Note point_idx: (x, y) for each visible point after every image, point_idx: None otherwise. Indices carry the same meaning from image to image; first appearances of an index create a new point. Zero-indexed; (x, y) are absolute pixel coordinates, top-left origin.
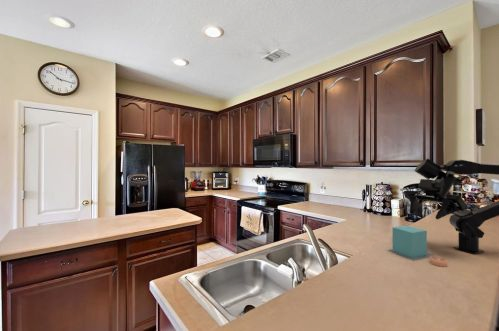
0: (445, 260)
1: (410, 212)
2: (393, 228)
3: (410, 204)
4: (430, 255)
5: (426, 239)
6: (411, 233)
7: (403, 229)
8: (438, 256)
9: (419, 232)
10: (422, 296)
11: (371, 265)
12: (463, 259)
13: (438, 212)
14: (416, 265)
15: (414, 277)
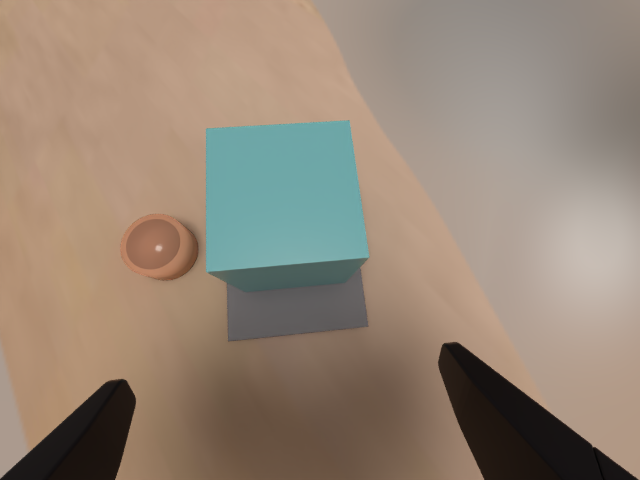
0: (123, 248)
1: (445, 344)
2: (340, 124)
3: (610, 460)
4: (239, 311)
5: (224, 280)
6: (215, 132)
7: (284, 141)
8: (163, 262)
9: (207, 195)
10: (70, 22)
11: (260, 40)
12: (163, 457)
13: (50, 462)
14: (204, 173)
15: (145, 88)
